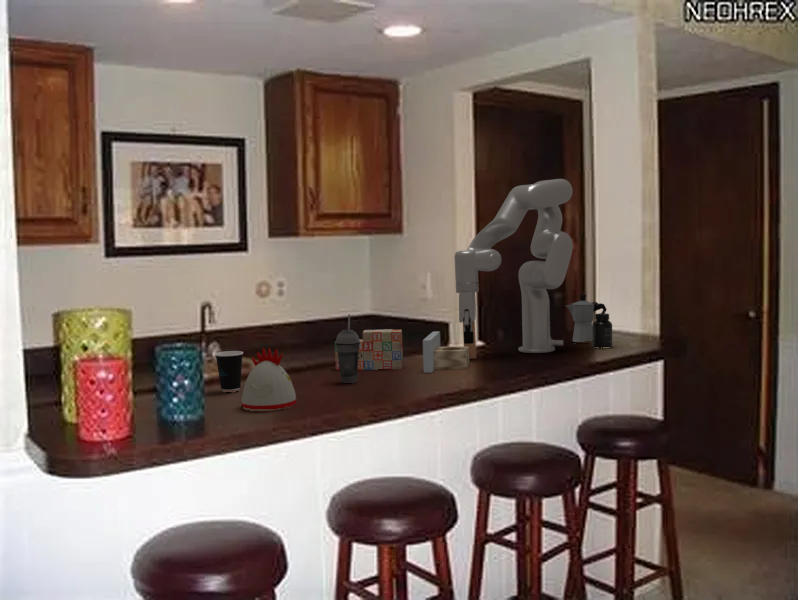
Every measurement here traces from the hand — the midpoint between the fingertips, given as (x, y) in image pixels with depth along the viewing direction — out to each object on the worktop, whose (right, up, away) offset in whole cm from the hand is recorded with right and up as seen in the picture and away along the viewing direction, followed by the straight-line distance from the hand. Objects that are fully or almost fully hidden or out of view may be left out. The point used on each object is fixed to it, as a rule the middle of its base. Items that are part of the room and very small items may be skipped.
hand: (469, 341), depth 278 cm
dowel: (0, -5, 0) cm, 5 cm away
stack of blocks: (-33, -8, -10) cm, 35 cm away
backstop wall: (-13, -7, -12) cm, 19 cm away
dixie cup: (-71, -12, -42) cm, 84 cm away
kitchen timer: (-57, -14, -64) cm, 87 cm away
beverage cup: (-38, -10, -34) cm, 52 cm away
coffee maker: (+46, -2, +32) cm, 56 cm away
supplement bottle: (+49, -3, +17) cm, 52 cm away
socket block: (-7, -8, -13) cm, 16 cm away
